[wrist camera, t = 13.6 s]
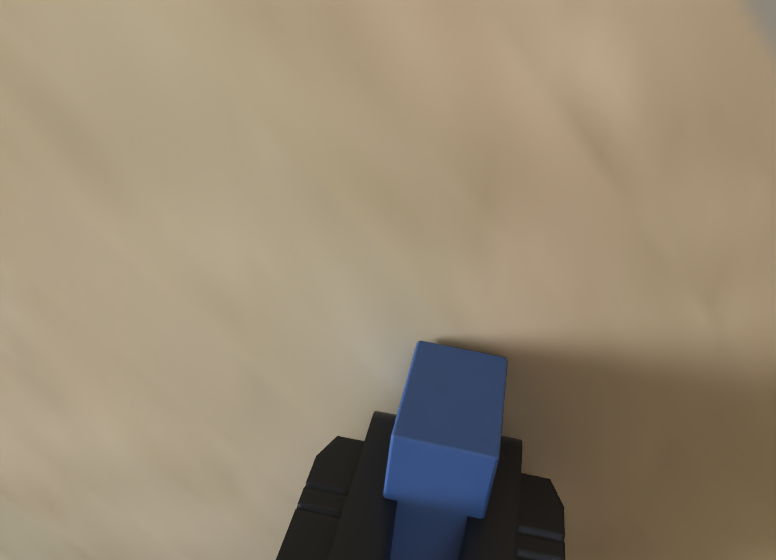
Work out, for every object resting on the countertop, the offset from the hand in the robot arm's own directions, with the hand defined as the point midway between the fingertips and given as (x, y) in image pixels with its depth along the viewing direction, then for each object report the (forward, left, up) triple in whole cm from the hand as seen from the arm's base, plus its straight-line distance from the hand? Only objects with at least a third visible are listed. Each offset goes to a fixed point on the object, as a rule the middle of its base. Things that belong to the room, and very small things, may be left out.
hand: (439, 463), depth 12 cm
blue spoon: (+2, 0, 0) cm, 2 cm away
